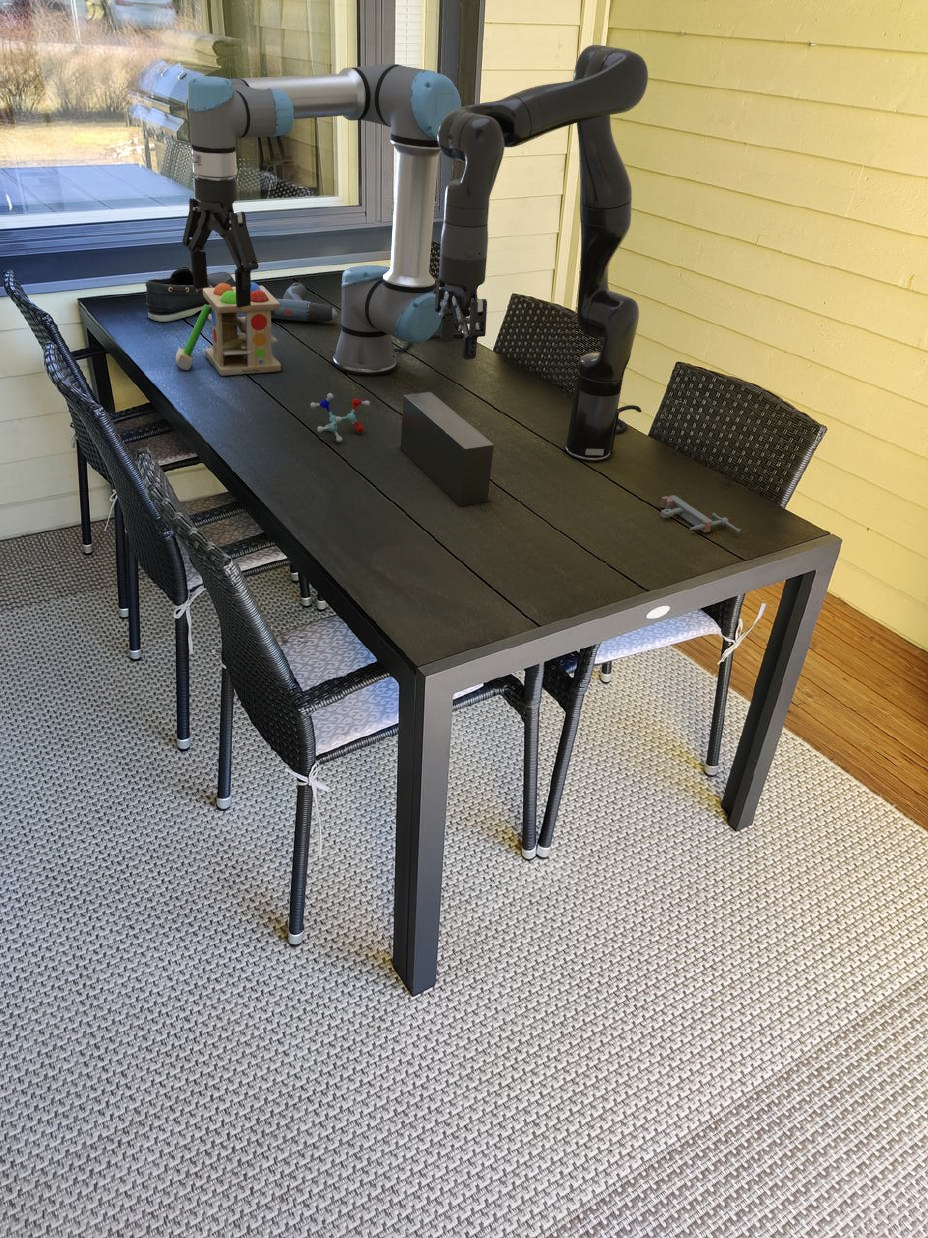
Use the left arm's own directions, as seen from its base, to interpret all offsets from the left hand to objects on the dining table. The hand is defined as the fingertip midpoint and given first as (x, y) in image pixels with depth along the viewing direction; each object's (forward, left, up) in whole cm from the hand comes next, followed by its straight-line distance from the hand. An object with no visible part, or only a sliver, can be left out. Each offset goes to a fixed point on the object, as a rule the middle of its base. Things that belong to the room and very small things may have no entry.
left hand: (221, 296), depth 186 cm
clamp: (-49, +82, -27) cm, 99 cm away
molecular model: (-17, +14, -27) cm, 35 cm away
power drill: (-58, -55, -27) cm, 84 cm away
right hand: (-16, +49, +2) cm, 52 cm away
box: (-23, +40, -27) cm, 53 cm away
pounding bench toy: (-18, -31, -27) cm, 45 cm away
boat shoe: (-34, -73, -27) cm, 85 cm away
